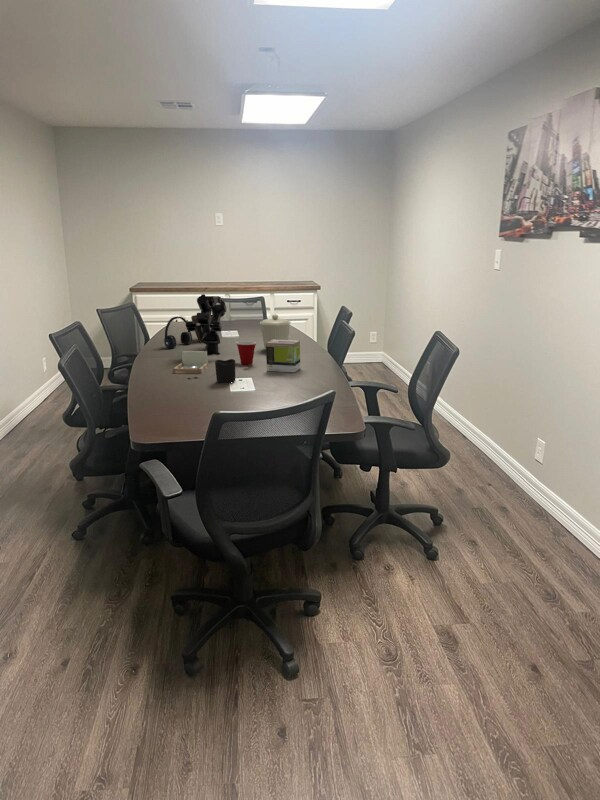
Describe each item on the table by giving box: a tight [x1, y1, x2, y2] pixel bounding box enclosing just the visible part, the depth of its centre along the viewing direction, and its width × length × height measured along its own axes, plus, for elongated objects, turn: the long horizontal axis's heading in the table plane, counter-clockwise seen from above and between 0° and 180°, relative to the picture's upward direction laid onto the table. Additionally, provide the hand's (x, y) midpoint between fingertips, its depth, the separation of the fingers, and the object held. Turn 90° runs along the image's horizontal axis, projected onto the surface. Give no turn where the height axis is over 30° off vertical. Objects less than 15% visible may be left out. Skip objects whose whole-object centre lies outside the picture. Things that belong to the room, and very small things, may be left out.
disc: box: [183, 365, 200, 369], centre depth 276 cm, size 8×8×2 cm
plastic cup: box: [235, 340, 257, 366], centre depth 290 cm, size 11×11×12 cm
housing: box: [172, 362, 209, 374], centre depth 276 cm, size 14×14×3 cm
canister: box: [259, 314, 292, 350], centre depth 322 cm, size 18×18×21 cm
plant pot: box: [190, 314, 213, 343], centre depth 352 cm, size 15×15×16 cm
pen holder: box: [214, 358, 236, 384], centre depth 257 cm, size 9×9×10 cm
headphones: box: [163, 316, 193, 349], centre depth 336 cm, size 20×7×18 cm, turn 148°
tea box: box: [265, 339, 301, 373], centre depth 277 cm, size 15×10×15 cm, turn 71°
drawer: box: [180, 350, 209, 369], centre depth 276 cm, size 14×13×9 cm
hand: (201, 339), depth 293 cm, fingers closed
